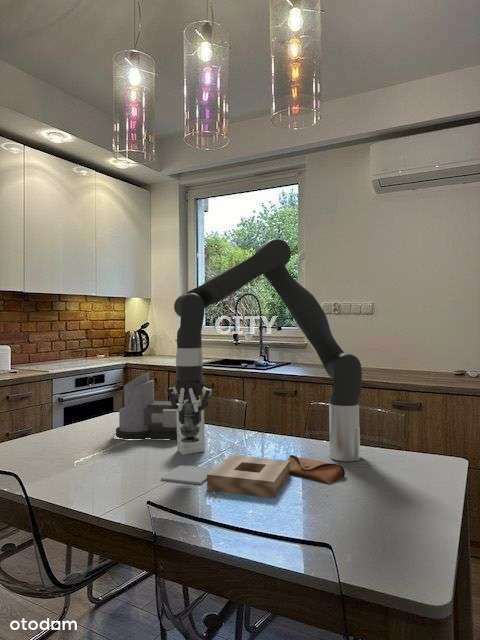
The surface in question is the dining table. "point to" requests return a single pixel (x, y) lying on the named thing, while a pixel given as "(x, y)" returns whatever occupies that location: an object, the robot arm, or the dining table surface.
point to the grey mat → (188, 474)
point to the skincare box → (199, 445)
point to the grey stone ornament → (189, 425)
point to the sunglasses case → (315, 470)
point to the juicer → (145, 413)
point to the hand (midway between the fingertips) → (189, 423)
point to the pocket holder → (249, 476)
